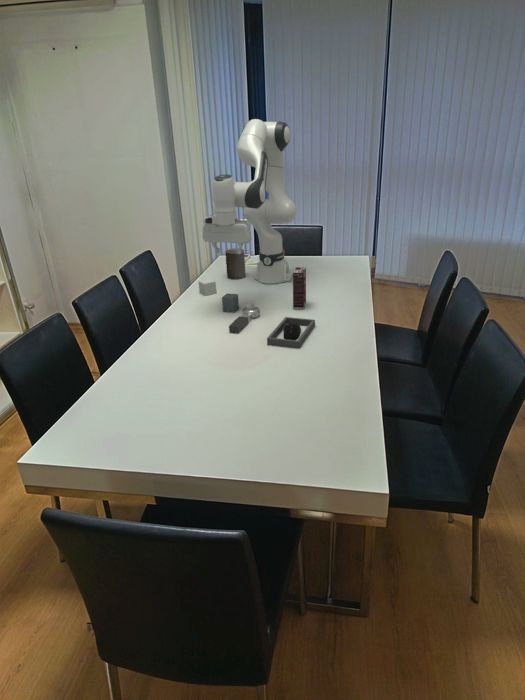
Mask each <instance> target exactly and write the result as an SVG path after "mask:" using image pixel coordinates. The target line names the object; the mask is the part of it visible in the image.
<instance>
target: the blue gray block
mask: <svg viewBox="0 0 525 700" xmlns="http://www.w3.org/2000/svg"><path fill="white" fill-rule="evenodd" d="M239 303H240V301H239V294H237V293H227V292H226V294H224V295H223V296H222V297H221V304H222V313H231V314H234V313H236V312H237V311H239V309H240V304H239Z"/></svg>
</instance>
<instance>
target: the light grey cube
mask: <svg viewBox="0 0 525 700" xmlns="http://www.w3.org/2000/svg"><path fill="white" fill-rule="evenodd" d="M198 290H199V291H198V292H199V294H200V295H202V296H204V297H209V296H212V295H217V294H218V293H217V292H218V291H217V284H216V281H215V280H213V279H212V278H206V279H201V280H198Z"/></svg>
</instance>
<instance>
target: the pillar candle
mask: <svg viewBox="0 0 525 700" xmlns="http://www.w3.org/2000/svg"><path fill="white" fill-rule="evenodd" d="M237 249H238V248H229V249H226V250H225V265H226V266H225V267H226V278H227V279H228V280H235V281H236V280H242V279H244V278H246V260H245V258H246V257H245V249H242V248H241V254H236V250H237Z"/></svg>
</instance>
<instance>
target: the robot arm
mask: <svg viewBox="0 0 525 700" xmlns="http://www.w3.org/2000/svg"><path fill="white" fill-rule="evenodd" d="M290 141H291V129H290V126H289V124H287V123H286V122H285V121H280V120H279V121H263V120H261V119H258V118H254V119H253V118H252V119H250V120H249V121H248V122H247V123H246V125H245V126H244V127H243V128H242V131H241V134H240V137H239V139H238V142H237V145H236V153H237V156H238V157H239V159H240V160H241V161H242V163H244V164H245V165H247V166H250V167H252V168H255V172H254V178H253V180H251V181H248V182H247V181H246V182H245V181H244V182H242V181H236V180H234V177H233V175H231V174H226V173H225V174H219V175H217V176H215V177H214V178H213V179H212V201H213V205H214V208H213V214H211V215H210V216H207V217H205V218H203V219H202V222H203V226H202V239H203V241H204V242H207V243H211V246H212V247H213V249H214V253H215V254H220V252H221V249H220V248H221V247H218V245H217V244H218V243H227V244H237V246H238V248H236V249H237V250H236V254H241V249H242V248H243V246H244V244H245V245H246V244H249V243H251V241H252V232H251V231H252V230H251V225H252V226H253V228H254V230H255V231H256V234H257V236H258V241H259V254H258V259H259V260H258V262H256V263H257V264H256V265H257V267H256V275H255V276H254V279H255V280H256V281H258V282H259V283H261V284H267V285H268V284H269V285H270V284H272V285H273V284H276V285H277V284H281V283H285V282H290V281H291V280H292V279H293V272H294V270H290V267H289V261H287V260H286V258H285V254H286V253H285V252H286V250H285V249H283V237H282V234H281V233H280V232H279V231H277V230H276V229H274V228H273V226H272V224H275V225H276V224H279V225H281V224H288V223H292V222H293V221H294V220H295V218H296V217H297V207H296V204H295V203H294V201H292V200H291V199H290V198H289V196H288V194H287V193H286V190H285V187H284V172H285V171H284V166H285V162H284V161H285V158H284V150H285V148H286V147H287V146H288V145H289V143H290ZM266 192H267V193H268V194H269V198H268V199H267V198H266ZM237 208H243V216H244V218H245V219H244V218H242V219H241V218H237V217H238V216H237V215H238V213H237Z"/></svg>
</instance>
